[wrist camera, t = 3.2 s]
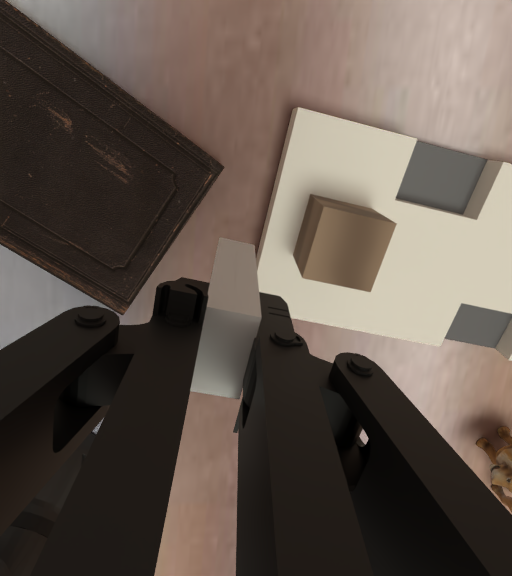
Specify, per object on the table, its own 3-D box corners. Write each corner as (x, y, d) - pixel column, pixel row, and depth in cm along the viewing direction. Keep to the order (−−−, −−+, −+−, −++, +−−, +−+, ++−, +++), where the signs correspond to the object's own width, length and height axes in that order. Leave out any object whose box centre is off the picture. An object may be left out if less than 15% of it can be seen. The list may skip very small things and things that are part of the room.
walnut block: (292, 255, 30) (302, 278, 26) (310, 193, 28) (323, 206, 24) (351, 268, 31) (370, 292, 26) (372, 208, 29) (396, 223, 25)
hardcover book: (-61, -54, 25) (-89, -71, 23) (225, 164, 31) (224, 167, 29) (-134, 152, 29) (-163, 154, 27) (127, 307, 35) (120, 318, 33)
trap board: (246, 295, 35) (247, 317, 31) (292, 109, 29) (301, 105, 25) (549, 355, 39) (586, 382, 35) (644, 202, 33) (703, 213, 29)
